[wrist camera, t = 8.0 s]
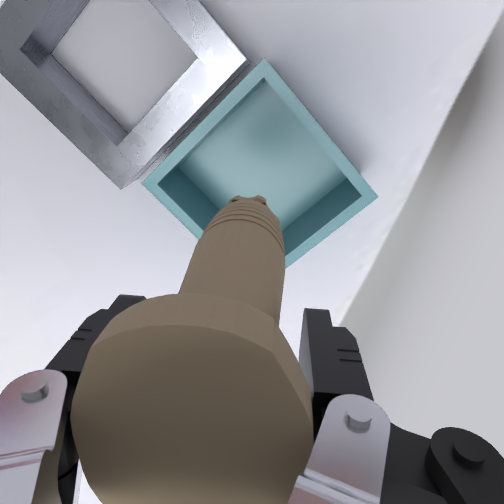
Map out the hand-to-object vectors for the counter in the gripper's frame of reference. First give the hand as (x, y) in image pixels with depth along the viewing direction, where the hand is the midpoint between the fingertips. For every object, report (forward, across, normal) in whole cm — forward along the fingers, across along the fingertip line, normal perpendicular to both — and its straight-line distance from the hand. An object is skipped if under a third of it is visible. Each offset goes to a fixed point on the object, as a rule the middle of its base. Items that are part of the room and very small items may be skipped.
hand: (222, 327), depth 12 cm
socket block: (+24, +11, -8) cm, 28 cm away
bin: (+24, 0, 0) cm, 24 cm away
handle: (+11, 0, 0) cm, 11 cm away
